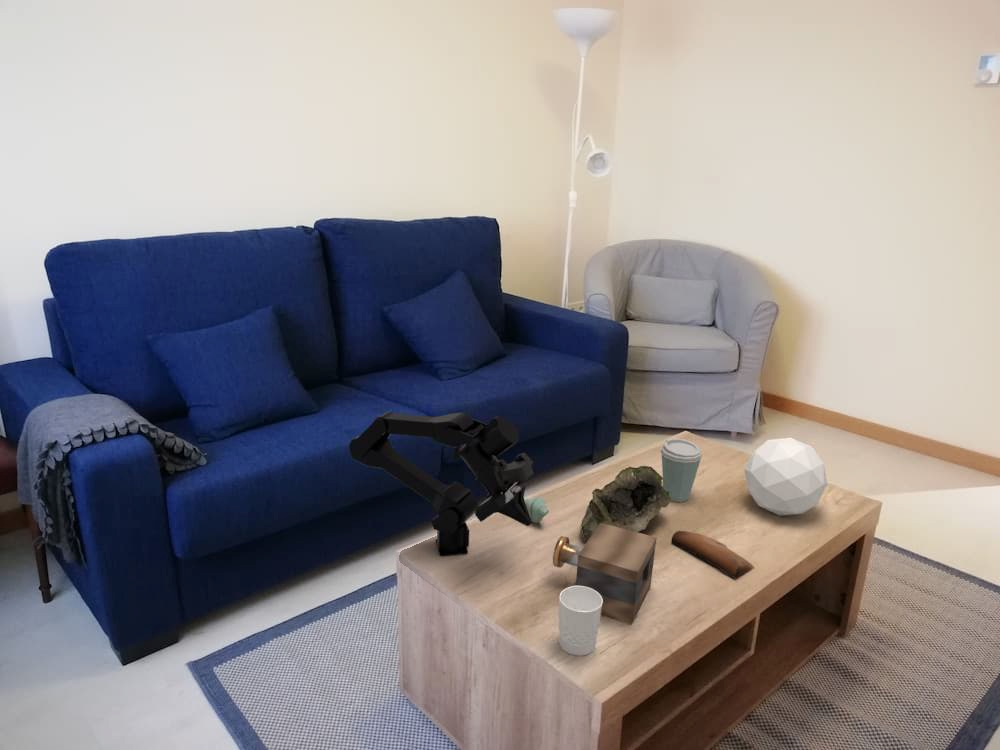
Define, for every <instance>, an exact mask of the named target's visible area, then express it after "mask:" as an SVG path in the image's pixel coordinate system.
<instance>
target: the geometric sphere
mask: <svg viewBox="0 0 1000 750" xmlns="http://www.w3.org/2000/svg"><path fill="white" fill-rule="evenodd" d="M743 472H744V475H745V480H746V485H747V488H748V492H749V493H750V495H751V497H752V498H753V499H754V501H755V503H756V505H757V506H759V507H761V508H762V509H764V510H766V511H768V512H770V513H772V514H775V515H777V516H779V517H781V516H794V515H803V514H804V513H806V512H808V511H809V510H810V509H812V508H814V507H815V506H816V505H818V504H819V501H820V500H821V498H822V496H823V494H824V492H825V489H826V488H827V486H828V480H827V474H826V469H825V463H824V462H823V460H822V458H820V455H818V453H817V452H816V450H815V449H814V447H813V446H811V445H810V444H806V443H804V442H801V441H800V440H797V439H794V438H793V437H785V438H776V439H775V438H773V439H767V440H766V441H764V443H762V444H761V445H760V446H758V448H756V449H755V450H754V451H753V452H752V455H751V456H750V457H749V460H747V463H746V465H745V467H744V469H743Z"/></svg>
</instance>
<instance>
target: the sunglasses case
mask: <svg viewBox="0 0 1000 750" xmlns="http://www.w3.org/2000/svg"><path fill="white" fill-rule="evenodd" d="M671 543H672V544H674V545H676V546H678V547H680V548H682V549H684V550H686V551H689V552H690V553H692V554H695V555H696V556H697V557H699V558H701V559H702V560H704V561H707V562H708V563H710V564H711V565H713V566H714V567H716V568H718V569H720V570H721V571H723V572H724V573H727V574H729V575H730V576H731V577H734V579H736V580H738V579H739V578H741V577H744V575H746V574H747V573H750V572H751V571H752V570H754V569H755V568H756V567H755V566H754V565H753V564H752V563H751V562H750V561H748V560H747V559H745V558H743V556H741V555H739V554H738V553H736V552H734V551H733V550H731V549H729V548H728V546H727V545H726V544H724V543H722V542H721V541H718V540H716V539H715V538H711V537H709V536H706V535H703V534H701V533H696V532H692V531H686V530H678V531H675V533H673V534H672V536H671Z"/></svg>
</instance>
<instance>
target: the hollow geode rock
mask: <svg viewBox="0 0 1000 750" xmlns="http://www.w3.org/2000/svg"><path fill="white" fill-rule="evenodd" d="M591 494H592V499H591V500H590V501H589V502H588V503H589V504H588V505H587V507H586V511H585V514H584V517H582V519H581V523H580V530H581V531H582V537H583V539H584V541H586V543H587V542H588V540H589V539H590V537H591V536H592V534H593V533H594V532H595V530H596V529H597V527H598V526H599V524H600V523H603V524H607V525H611V526H615V527H619V528H622V529H626V530H630V531H634V532H638V533H639V532H641V531H642V530H646V528H647V525H648V524H649V523H650V520H651V519H654V517H655V516H657V515H659V513H660V511H661V510H662V508H663V509H664V508H665V509H666V508H667V507H668V505H669V504H670V501H671V500H670V497H669V492H666V490H665V489H664V488H663V476H662V475H660V473H659V472H657V471H656V469H655V468H653V467H652V466H647V465H640V466H638V467H633V466H629V467H626V468H624V469H622V470H621V471H619V472H618V474H617V475H616V476H615V479H614V480H612V481H611V482H609V483H607V484H606V485H604V486H603V488H602V489H599V488H594V489H593V490H592V492H591Z"/></svg>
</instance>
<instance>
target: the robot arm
mask: <svg viewBox="0 0 1000 750" xmlns="http://www.w3.org/2000/svg"><path fill="white" fill-rule="evenodd" d="M391 435H399V436H410V437H421V438H427V439H428V438H429V439H432V440H434V441H435V442H437V443H438V444H441V445H443V446H446V447H451V448H453V457H452V461H453V462H457V461H458V460H459V459H462V460H463V461H464V463H465V464H466V465H467V466H468V468H469V469H470V470H471V471H472V473H473V474H474V475H475V477H476V478H475V479H474V483H475V484H476V485H478V484H481V485H482V486H483V487H484V489H485V490H486V491H487V492H488V494H486V495H485V496H486V498H487V499H485V500H484V501H483V502H482V503H480V504H479V503H478V500H477V497H476V495H475V494H474V493H472V489H471V488H468V487H465V486H464V485H463V484H462V483H461V482H460V481H459V482H458V481H456V480H455V481H454V482H453V483H451V485H450V484H445V483H443V482H441V481H440V480H439V479H437V478H435V477H434V476H433V475H431V474H430V473H428V472H426V471H425V470H424V469H423V468H421V467H419V466H418V465H417V464H415V463H414V462H412V461H410V460H409V459H408V458H406V457H404V456H403V455H401V454H400V453H398V452H397V451H396V450H395V449H394V447H393V445H392V442H391V441H390V439H389V438H390V436H391ZM476 439H477V440H476ZM519 440H520V433H519V431H518V429H517V427H516V426H515V425H514V424H513V423H511V422H510V421H508V420H506V419H503V418H502V417H501V416H500V415H497V416H495V417H494V418H492V419H491V420H490V421H489V423H485V422H482V421H481V420H477V419H475V418H472V417H471V416H470V415H469V414H468V413H465V412H455V413H449V414H445V415H440V416H429V415H428V416H426V415H416V414H415V415H414V414H404V413H394V412H392V411H387V412H384V413H383V414H381V415H379V416H377V417H375V419H374V421H373V422H372V423H371V424H370V425H369V426H368V427H367V428H366V429H365V430H364V431H363V432H362V433H361V434H360V435H357V436H356V437H355V438H353V439H352V440H350V443H349V448H348V449H349V452H350V456H351V458H352V459H353V460H355V461H356V462H358V463H360V464H362V465H364V466H366V467H369V468H377V469H382V470H383V471H384V472H386V473H387V474H389V475H390V476H392V477H393V478H395V479H396V480H398V481H399V482H401V483H402V484H404V485H405V486H406V487H408V488H409V489H411V490H413V491H414V492H415V493H417V494H418V495H420V496H421V497H423V498H424V499H426V500H427V501H428V502H430V503H431V504H432V506H433V508H434V511H435V513H436V514H437V515H436V516H435V517H434V518H433V519H432V520H431V525H432V527H433V530H434V531H437V533H436V539H435V544H436V548H437V553H438V555H439V557H446V556H456V555H467V554H469V550H468V547H470V529H469V526H468V525H467V521H468V520H469V519H470V518H471V517H472V516H473V515H474V514H475V516H476V518H477V519H478V521H479V522H480V523H481V522H484V521H485V520H486V519H487V518H489V517H490V516H492V515H493V514H497V513H499V514H501V515H503V516H506V517H509V518H510V519H512V520H514V521H516V522H518V523H520V524H521V525H524V526H525V527H529V526H531V525H532V524H533V521H532V520H531V518H530V515H529V512H528V509H527V507H526V504H525V500H524V499H525V491H526V489H527V486H526V485H524V486H523V487H520V486H519V485H521V484H522V483H524V482H526V481H529V480H531V478H532V477H533V476H535V475H536V473H535V472H534V471H533V467H532V466H533V465H534V460H532V459H531V458H530V457H529V456H528V454H526V452H523V453H519V454H518V455H516V456H515V460H514V461H512V462H510V463H507V461H506V460H505V459H503V458H501V459H499V460H498V459H497V457H499V456H500V455H501V454H503V453H505V452H506V451H508V449H510V448H511V447H513V446H514V445H515V444H516V443H518V441H519Z"/></svg>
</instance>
